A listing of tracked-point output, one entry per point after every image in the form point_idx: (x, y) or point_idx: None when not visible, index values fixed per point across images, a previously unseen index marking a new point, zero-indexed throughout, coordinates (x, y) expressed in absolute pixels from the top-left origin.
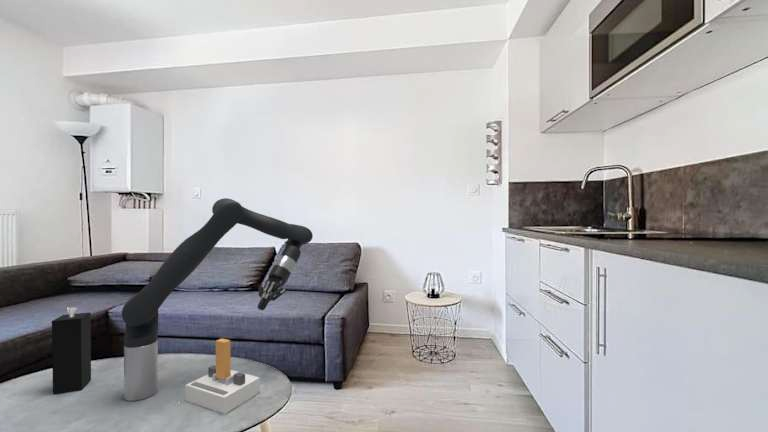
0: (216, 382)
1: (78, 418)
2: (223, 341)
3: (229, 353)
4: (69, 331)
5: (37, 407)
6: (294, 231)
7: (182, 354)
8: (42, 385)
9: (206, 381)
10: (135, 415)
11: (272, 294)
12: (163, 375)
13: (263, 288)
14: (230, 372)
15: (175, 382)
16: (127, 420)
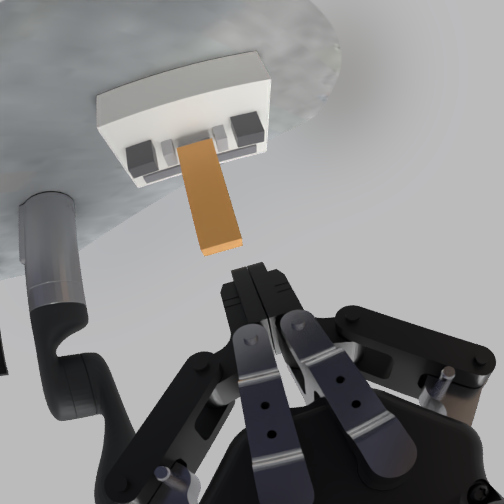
0: None
1: (81, 239)
2: (231, 246)
3: (230, 200)
4: (3, 354)
5: (23, 265)
6: None
7: None
8: None
9: (157, 161)
10: (125, 203)
11: (369, 368)
12: None
13: (192, 473)
14: (214, 147)
15: (27, 172)
16: (132, 207)
